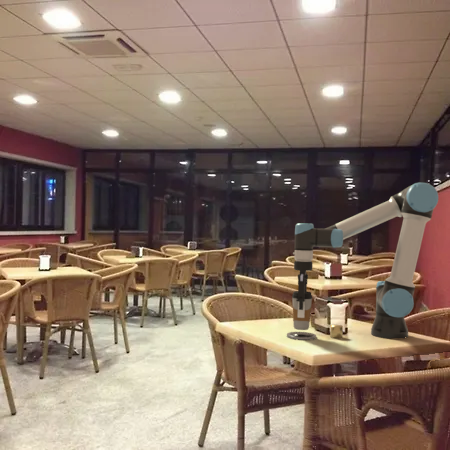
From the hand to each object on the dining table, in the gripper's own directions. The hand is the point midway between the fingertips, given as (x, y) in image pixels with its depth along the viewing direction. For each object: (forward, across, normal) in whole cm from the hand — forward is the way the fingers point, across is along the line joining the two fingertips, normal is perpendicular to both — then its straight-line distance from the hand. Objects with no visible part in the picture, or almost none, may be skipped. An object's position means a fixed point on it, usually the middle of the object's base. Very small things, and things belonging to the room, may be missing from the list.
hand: (301, 315), depth 218 cm
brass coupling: (+9, -4, +14) cm, 17 cm away
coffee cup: (+6, 0, 0) cm, 6 cm away
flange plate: (+9, 0, 0) cm, 9 cm away
